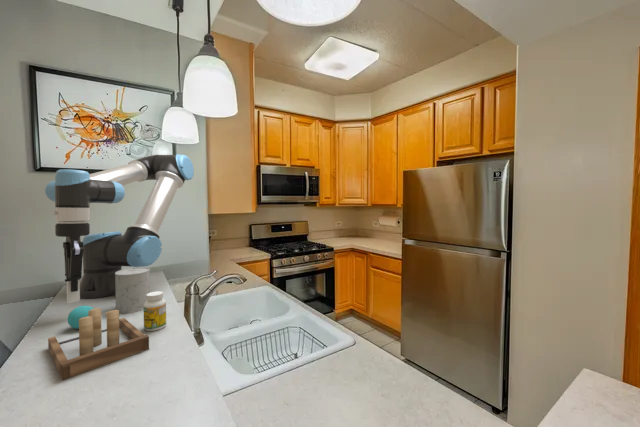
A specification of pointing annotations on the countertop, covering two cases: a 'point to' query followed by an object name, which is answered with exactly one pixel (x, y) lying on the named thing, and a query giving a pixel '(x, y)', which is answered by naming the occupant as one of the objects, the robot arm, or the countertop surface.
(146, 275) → the speckled white cylinder
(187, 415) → the countertop surface
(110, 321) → the pin
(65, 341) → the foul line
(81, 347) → the pin
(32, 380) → the countertop surface
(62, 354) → the frame
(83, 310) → the ball
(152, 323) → the supplement bottle
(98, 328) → the front pin
